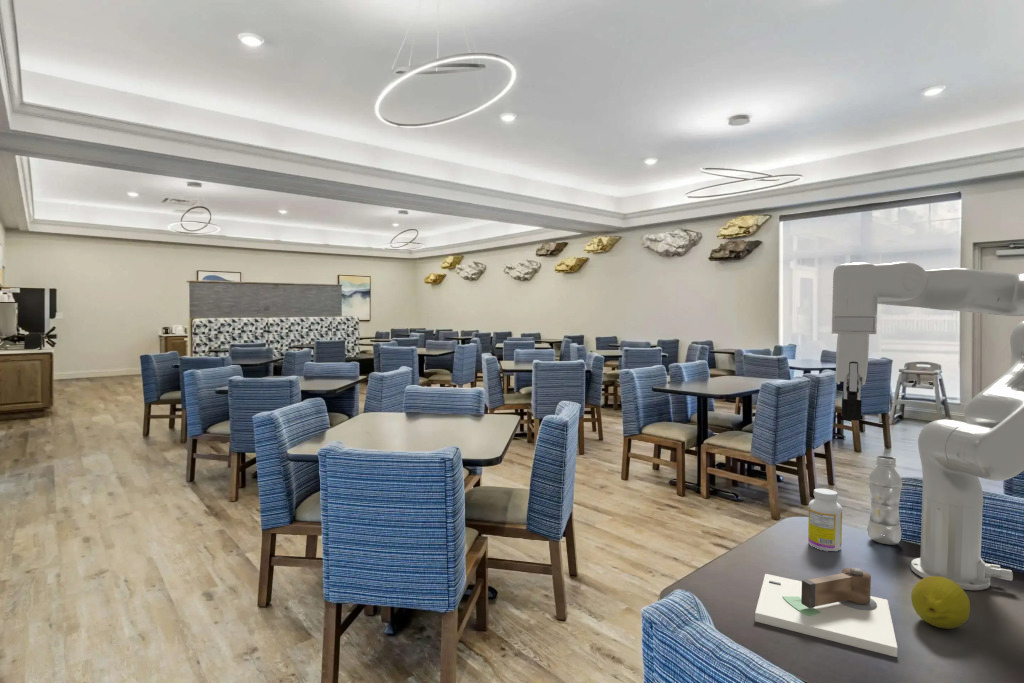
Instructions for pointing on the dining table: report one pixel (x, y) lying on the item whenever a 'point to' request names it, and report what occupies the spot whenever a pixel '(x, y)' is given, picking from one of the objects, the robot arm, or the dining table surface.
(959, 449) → the robot arm
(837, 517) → the supplement bottle
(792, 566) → the dining table surface
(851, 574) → the walnut dial lever
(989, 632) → the dining table surface
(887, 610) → the dial plate
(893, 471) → the plastic bottle
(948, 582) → the lemon
